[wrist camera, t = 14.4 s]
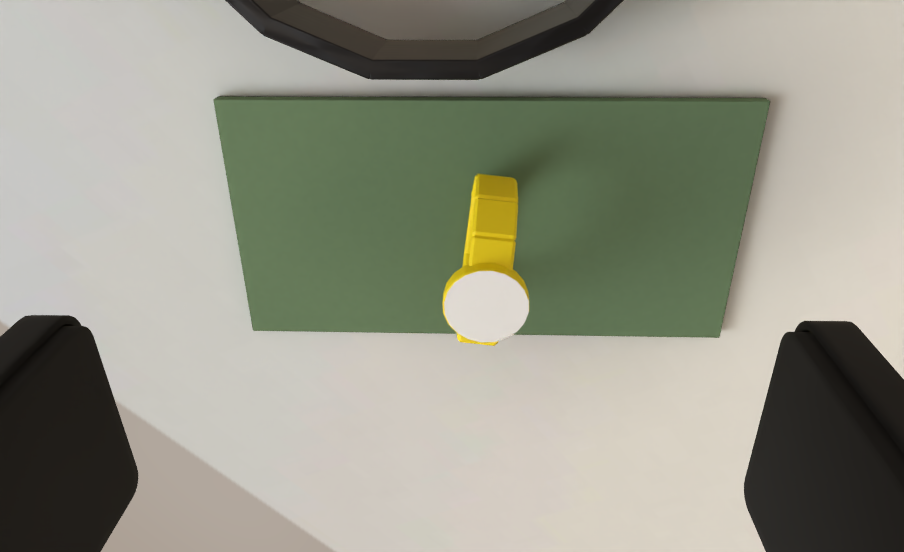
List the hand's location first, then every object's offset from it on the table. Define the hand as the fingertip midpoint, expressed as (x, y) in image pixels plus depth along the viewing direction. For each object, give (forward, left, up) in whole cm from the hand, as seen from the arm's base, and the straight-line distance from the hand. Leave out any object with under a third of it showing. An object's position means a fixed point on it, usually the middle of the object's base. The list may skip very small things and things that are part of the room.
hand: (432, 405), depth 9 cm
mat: (-1, +5, -17) cm, 18 cm away
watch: (-1, +5, -17) cm, 18 cm away
